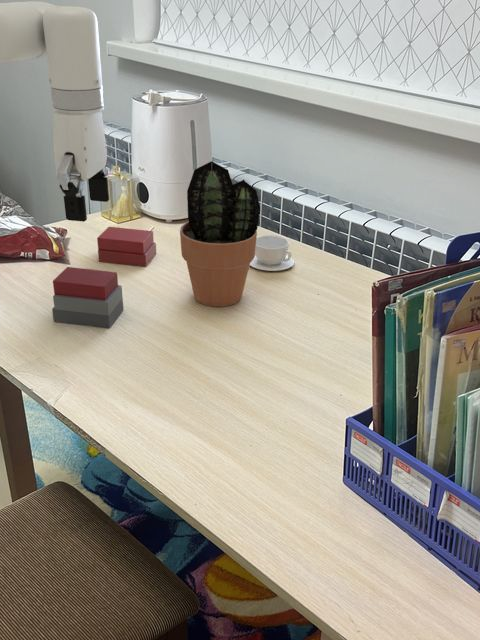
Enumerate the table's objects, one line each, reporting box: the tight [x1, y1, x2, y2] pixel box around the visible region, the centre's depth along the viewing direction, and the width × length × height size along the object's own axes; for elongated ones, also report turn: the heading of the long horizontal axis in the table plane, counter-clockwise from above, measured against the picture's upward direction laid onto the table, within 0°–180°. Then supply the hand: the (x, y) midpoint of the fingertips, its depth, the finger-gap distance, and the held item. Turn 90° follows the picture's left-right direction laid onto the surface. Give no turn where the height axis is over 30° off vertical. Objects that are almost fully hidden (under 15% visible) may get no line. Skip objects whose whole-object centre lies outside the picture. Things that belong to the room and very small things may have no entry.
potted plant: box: [179, 160, 261, 307], centre depth 123 cm, size 14×14×25 cm
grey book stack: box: [51, 284, 124, 329], centre depth 119 cm, size 10×7×5 cm
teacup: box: [249, 234, 295, 272], centre depth 142 cm, size 10×10×5 cm
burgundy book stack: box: [96, 226, 157, 268], centre depth 142 cm, size 10×7×5 cm
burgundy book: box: [52, 266, 119, 300], centre depth 117 cm, size 9×6×2 cm, turn 81°
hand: (88, 210), depth 112 cm, fingers open, 9 cm apart
